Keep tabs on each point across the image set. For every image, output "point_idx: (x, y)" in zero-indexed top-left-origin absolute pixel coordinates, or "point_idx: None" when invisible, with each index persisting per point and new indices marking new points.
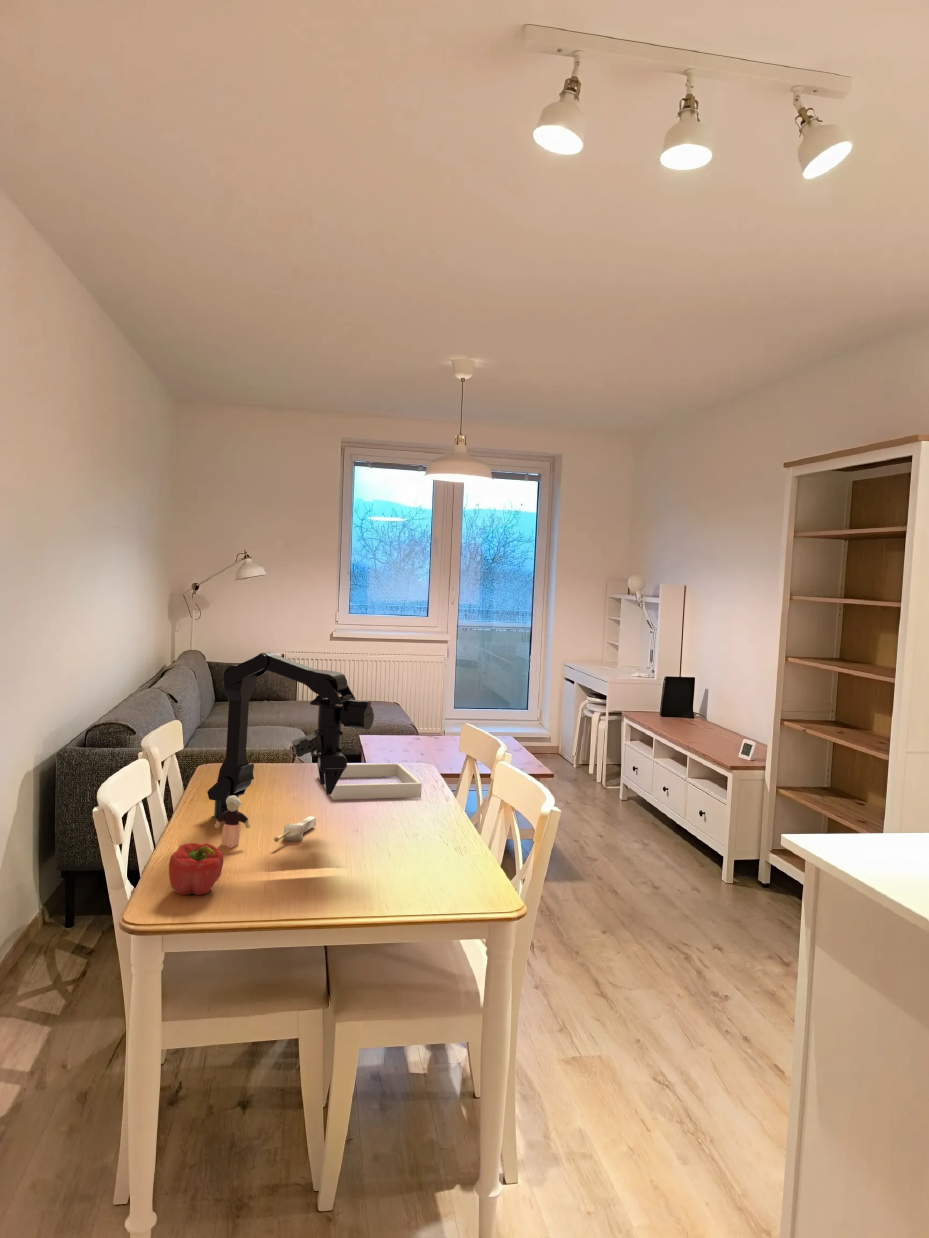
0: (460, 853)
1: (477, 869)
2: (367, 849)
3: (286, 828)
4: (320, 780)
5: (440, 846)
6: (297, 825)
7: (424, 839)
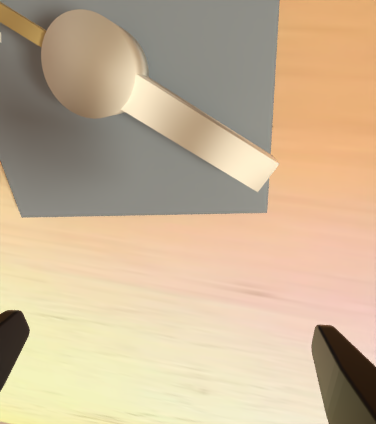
0: (83, 415)
1: (7, 409)
2: (91, 285)
3: (52, 23)
4: (330, 352)
5: (121, 403)
6: (108, 90)
7: (166, 394)
